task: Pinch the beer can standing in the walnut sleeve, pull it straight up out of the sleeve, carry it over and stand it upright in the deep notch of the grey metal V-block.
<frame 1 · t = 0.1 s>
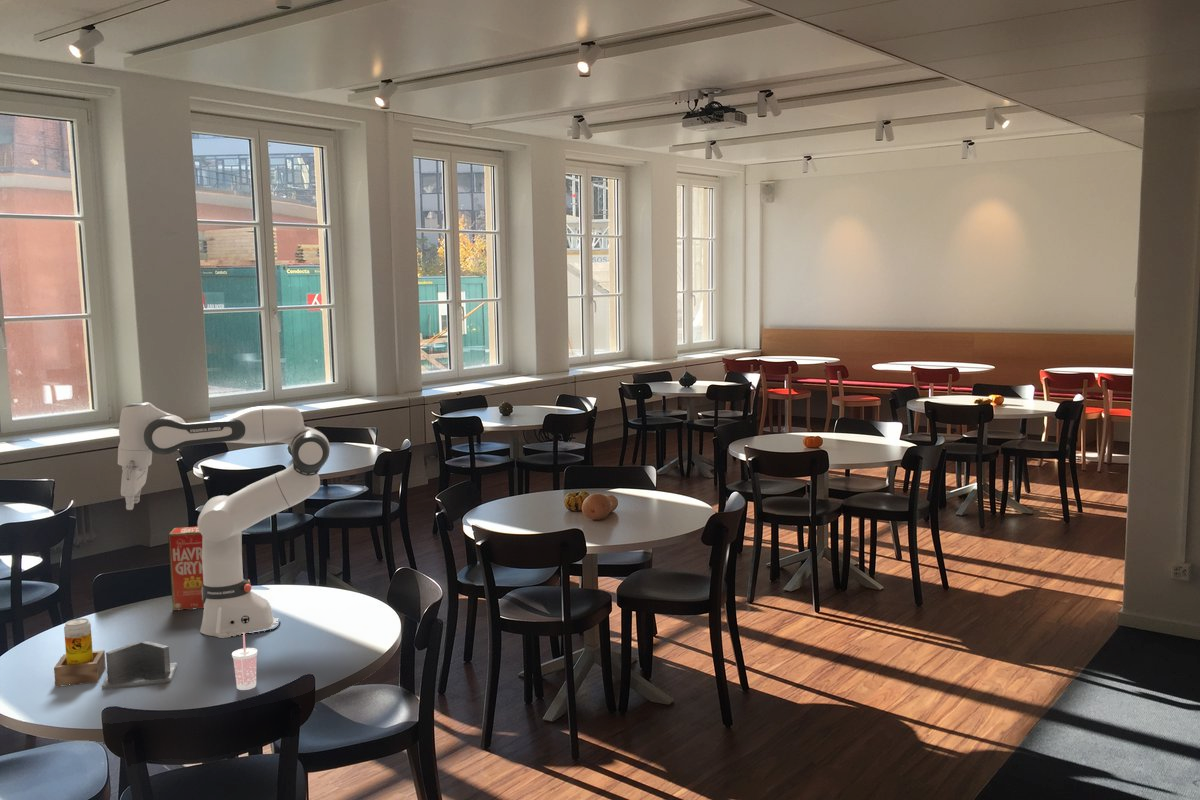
hand: (132, 506, 281), 39 cm above the table, tool pointing down, fingers open, 8 cm apart
food packaging: (197, 605, 314), on the table
beer can: (81, 678, 255), resting in walnut sleeve
walnut sleeve: (81, 677, 255), on the table
V-block: (139, 680, 252), on the table
beverage cup: (246, 687, 247), on the table
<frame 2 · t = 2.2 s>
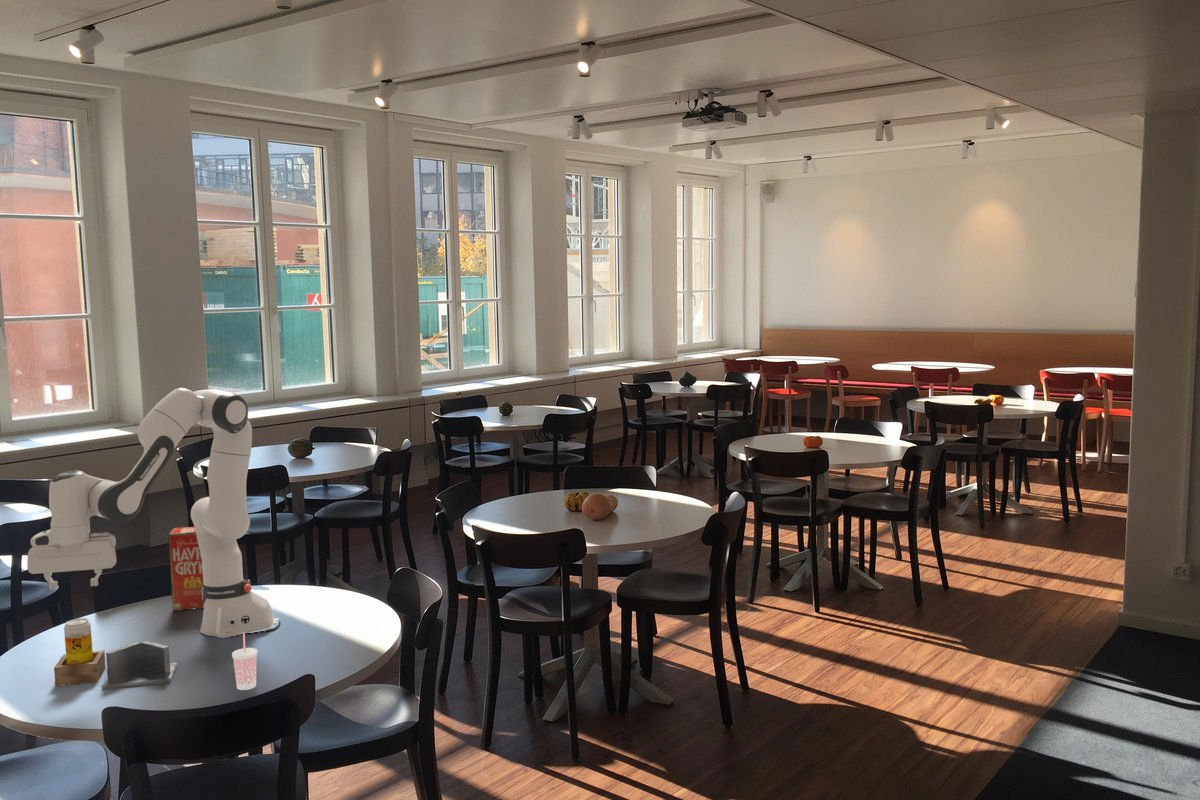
hand: (74, 587, 252), 24 cm above the table, tool pointing down, fingers open, 8 cm apart
nothing on the table moved.
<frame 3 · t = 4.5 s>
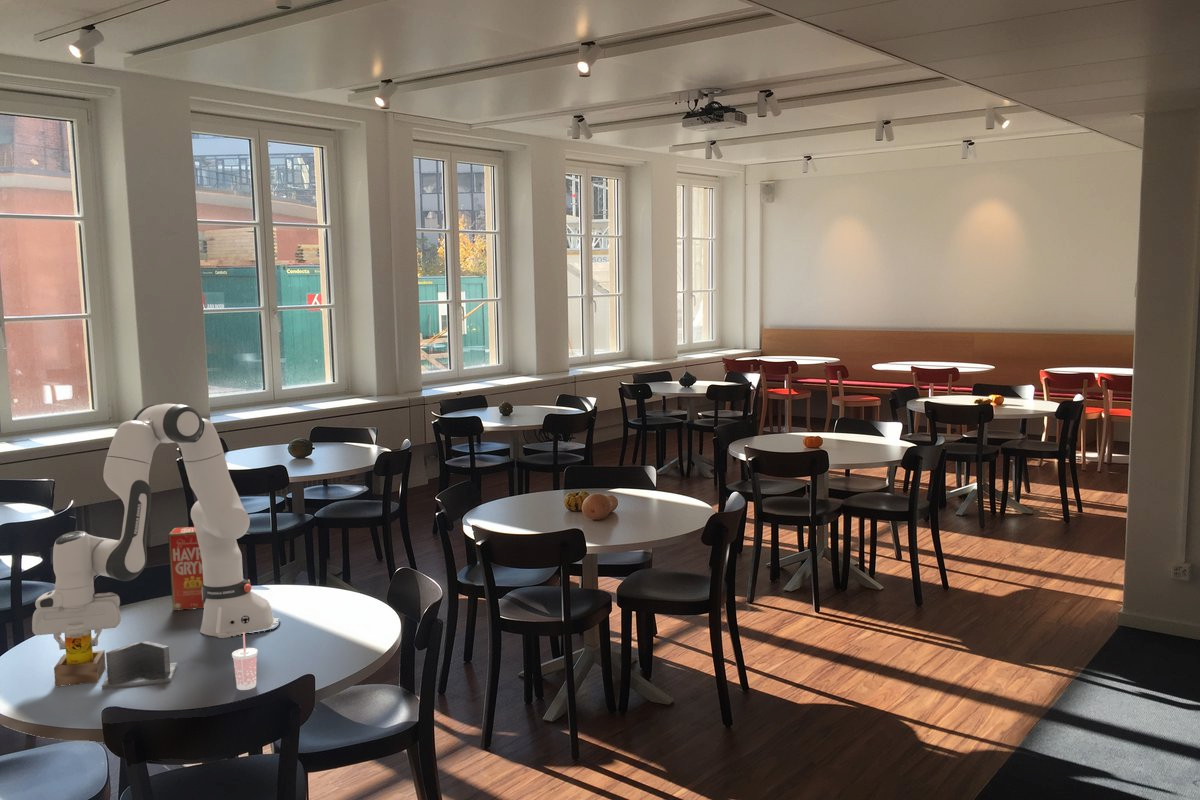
hand: (79, 647, 254), 8 cm above the table, tool pointing down, fingers closed on beer can, 6 cm apart
beer can: (81, 678, 255), resting in walnut sleeve, touching gripper
everything else where it was.
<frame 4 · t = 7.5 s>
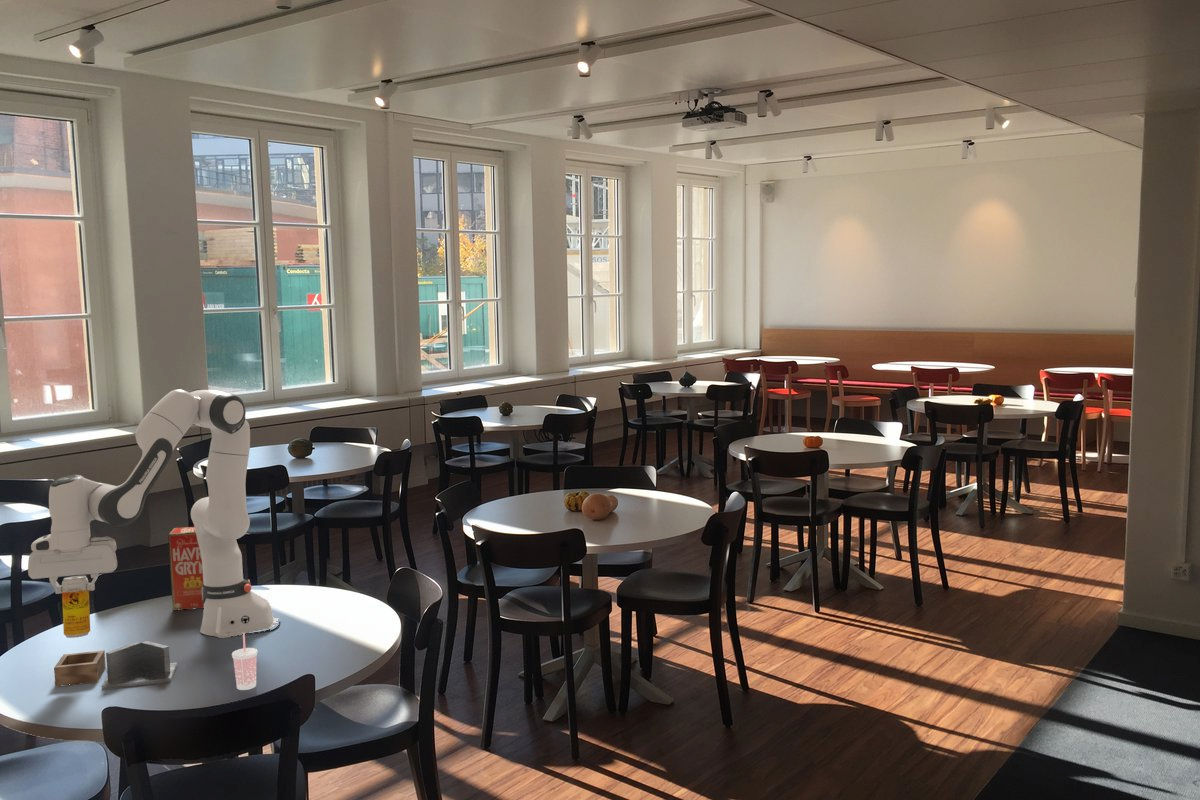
hand: (75, 591, 252), 23 cm above the table, tool pointing down, fingers closed on beer can, 6 cm apart
beer can: (77, 636, 252), point 11 cm above the table, touching gripper
everything else where it was.
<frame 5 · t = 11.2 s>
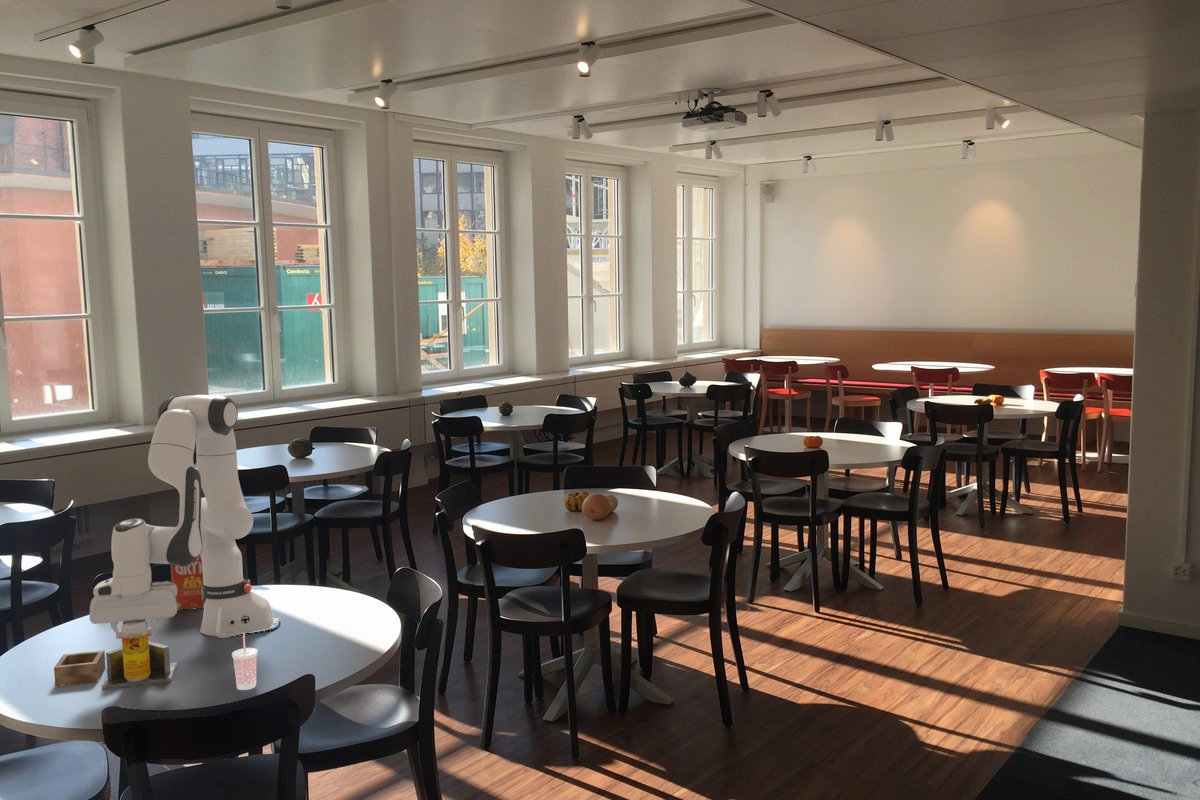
hand: (135, 636, 251), 12 cm above the table, tool pointing down, fingers closed on beer can, 6 cm apart
beer can: (137, 678, 251), point 1 cm above the table, touching V-block, gripper
everything else where it was.
when the fingers open (10 cm above the table, at t = 12.9 s): beer can stays where it is, resting on V-block.
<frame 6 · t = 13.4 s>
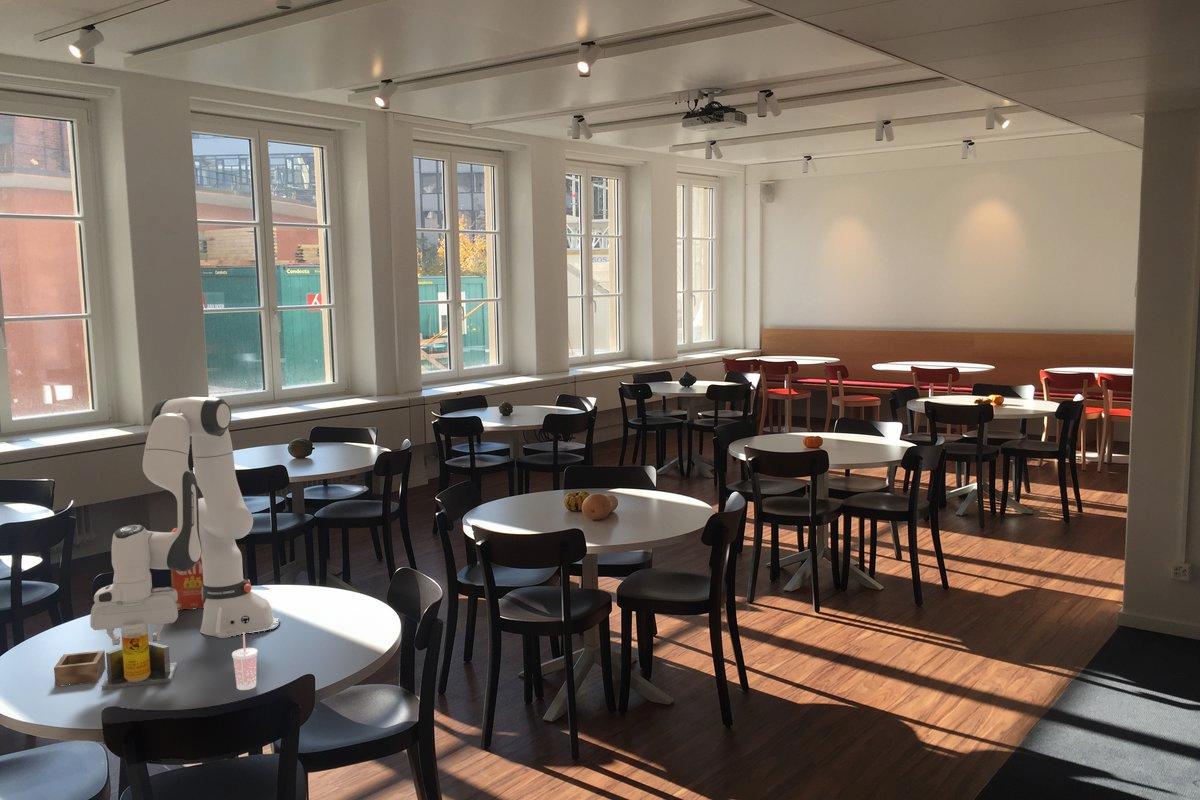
hand: (136, 642, 251), 10 cm above the table, tool pointing down, fingers open, 8 cm apart
beer can: (137, 678, 251), point 1 cm above the table, touching V-block
everything else where it was.
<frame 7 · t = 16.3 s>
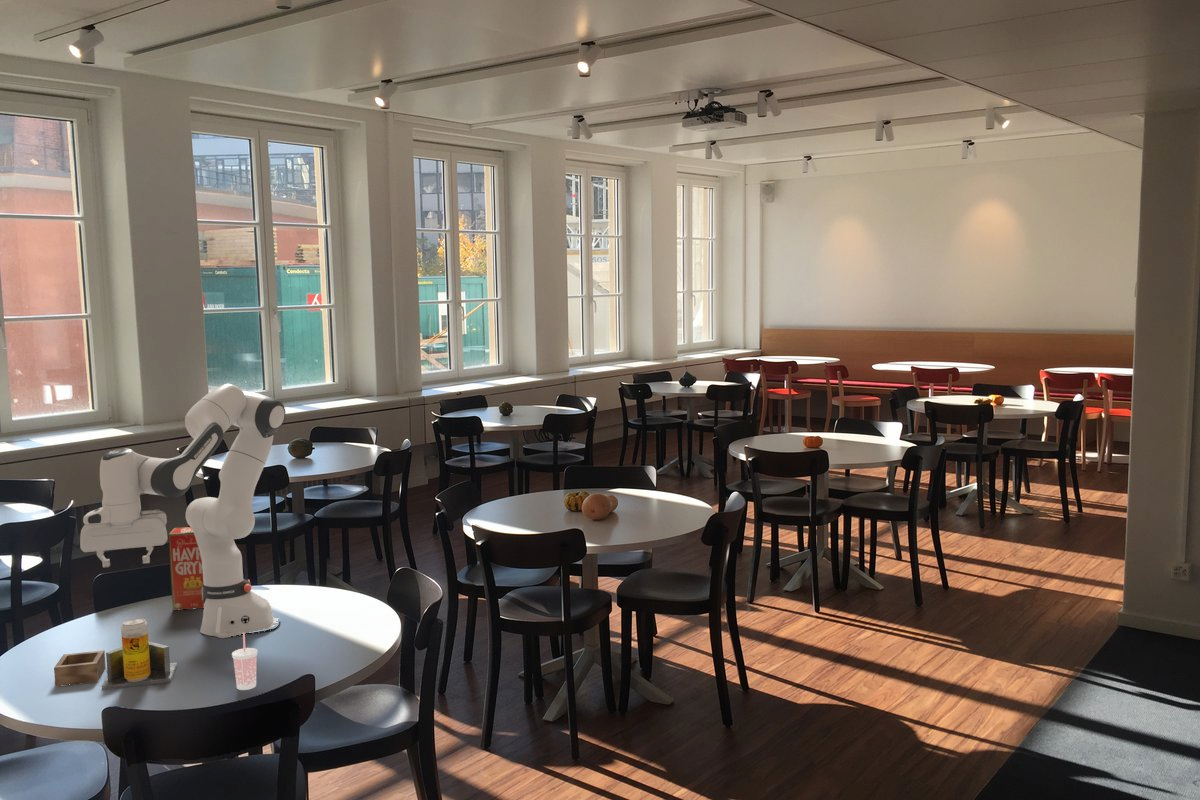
hand: (126, 564, 253), 29 cm above the table, tool pointing down, fingers open, 8 cm apart
nothing on the table moved.
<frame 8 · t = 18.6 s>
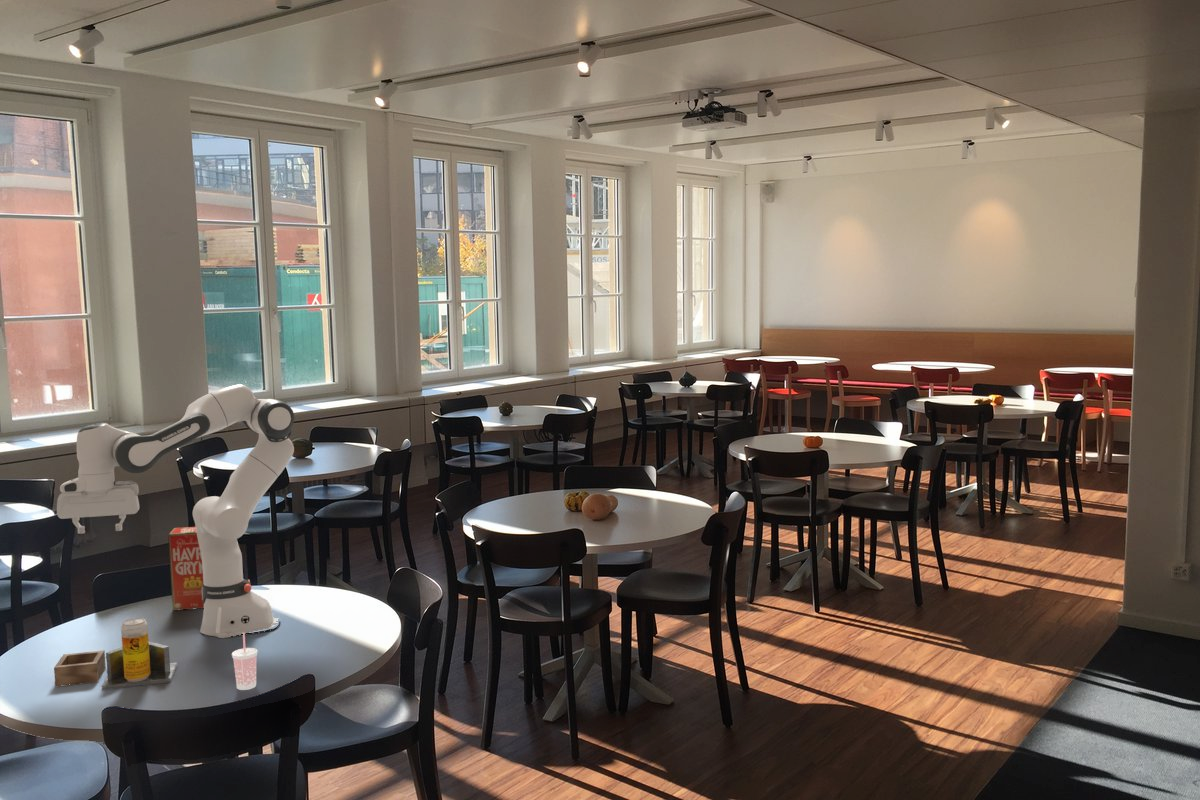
hand: (100, 531, 270), 34 cm above the table, tool pointing down, fingers open, 8 cm apart
nothing on the table moved.
at the end: beer can 1.0 cm off-centre on the V-block, point 0.8 cm above the V-block's base; beer can tilted 0°; the gripper is holding nothing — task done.
